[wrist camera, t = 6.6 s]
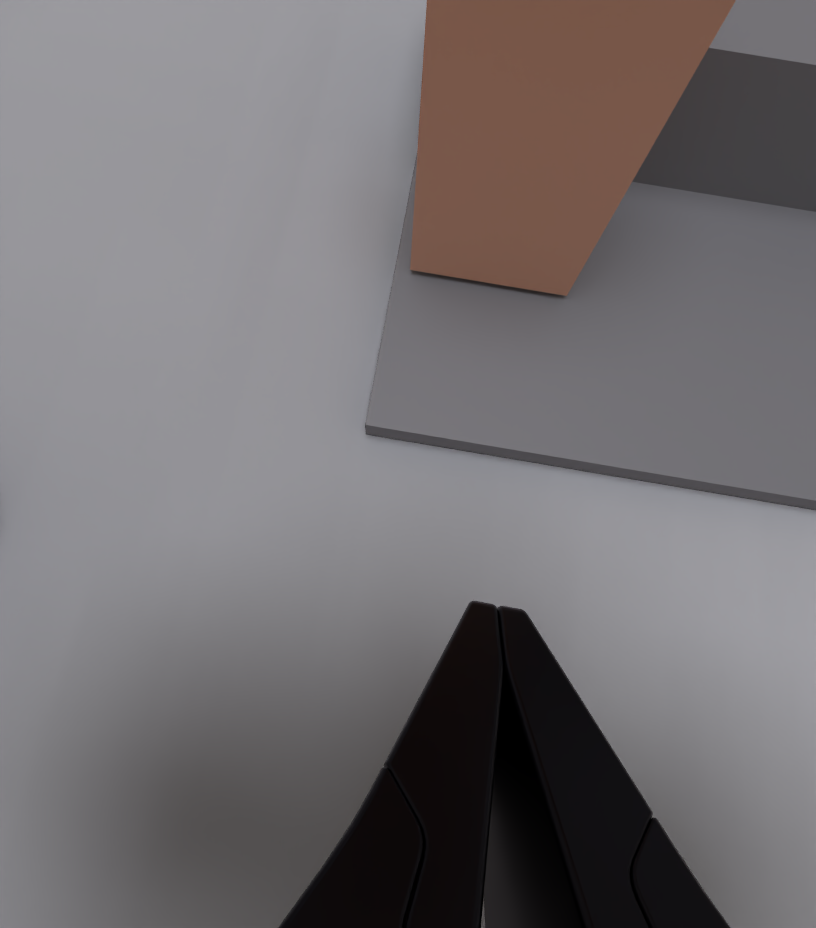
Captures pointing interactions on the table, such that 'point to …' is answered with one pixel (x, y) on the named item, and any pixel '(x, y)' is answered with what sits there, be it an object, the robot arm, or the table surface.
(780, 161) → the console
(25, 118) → the table surface
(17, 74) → the table surface
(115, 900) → the table surface
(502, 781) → the robot arm
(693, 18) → the key
